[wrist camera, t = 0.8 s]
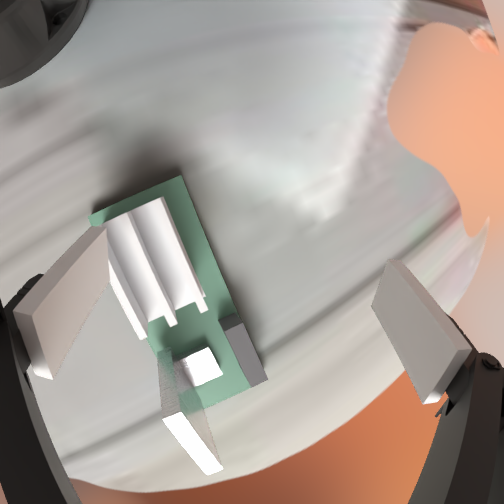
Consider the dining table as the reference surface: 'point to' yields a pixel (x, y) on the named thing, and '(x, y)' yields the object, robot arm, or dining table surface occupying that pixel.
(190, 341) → the heat-sink mount
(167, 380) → the plate
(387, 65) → the dining table surface
